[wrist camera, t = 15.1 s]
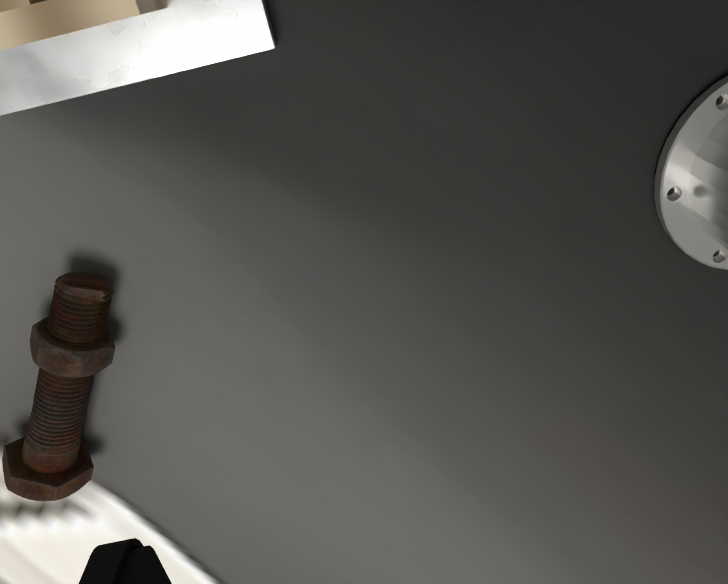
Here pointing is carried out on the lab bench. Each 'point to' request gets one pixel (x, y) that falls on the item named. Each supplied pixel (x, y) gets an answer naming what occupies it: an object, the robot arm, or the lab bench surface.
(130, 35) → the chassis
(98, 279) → the bolt
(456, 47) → the lab bench surface
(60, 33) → the tan rectangular block
